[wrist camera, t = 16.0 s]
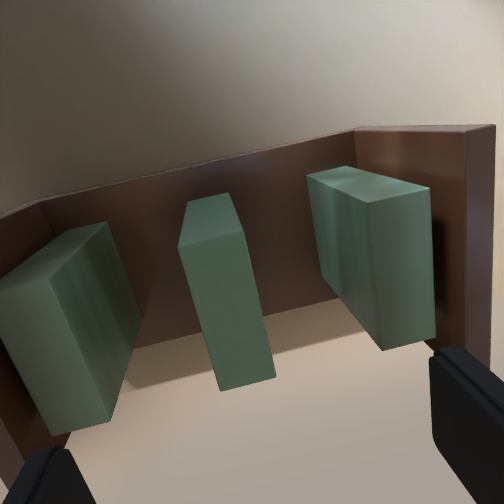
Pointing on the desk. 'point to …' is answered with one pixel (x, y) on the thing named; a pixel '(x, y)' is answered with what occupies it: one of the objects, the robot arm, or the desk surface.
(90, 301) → the book rack
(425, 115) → the desk surface
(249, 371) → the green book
